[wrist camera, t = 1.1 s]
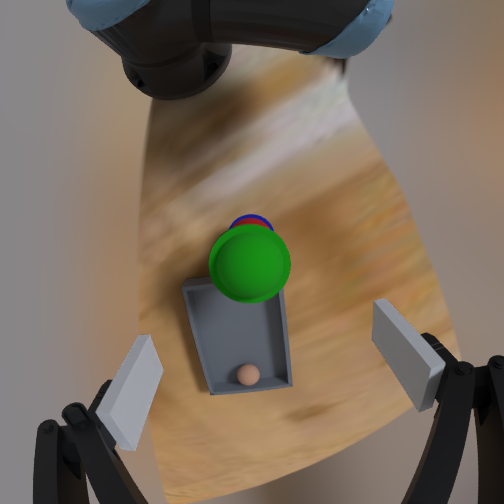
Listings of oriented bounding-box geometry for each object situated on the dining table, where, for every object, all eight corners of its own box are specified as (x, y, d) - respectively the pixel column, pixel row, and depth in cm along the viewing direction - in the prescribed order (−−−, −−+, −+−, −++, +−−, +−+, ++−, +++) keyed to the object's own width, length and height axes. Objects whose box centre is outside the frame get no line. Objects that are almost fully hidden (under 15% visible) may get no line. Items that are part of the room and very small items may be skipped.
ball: (235, 360, 43) (235, 374, 40) (257, 358, 43) (258, 371, 40) (239, 377, 44) (238, 391, 41) (260, 374, 44) (261, 388, 41)
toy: (216, 263, 40) (200, 311, 25) (223, 206, 38) (209, 225, 23) (272, 270, 40) (286, 322, 26) (282, 215, 38) (304, 239, 24)
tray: (185, 279, 40) (181, 287, 37) (278, 266, 40) (281, 274, 37) (212, 383, 45) (210, 395, 42) (290, 374, 45) (292, 386, 42)
